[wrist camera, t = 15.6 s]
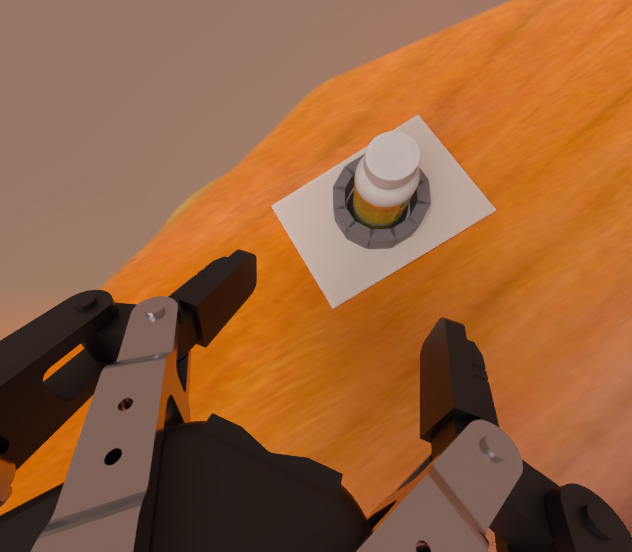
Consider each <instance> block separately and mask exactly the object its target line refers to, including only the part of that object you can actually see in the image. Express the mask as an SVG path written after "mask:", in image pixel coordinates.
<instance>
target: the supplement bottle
mask: <svg viewBox="0 0 632 552" xmlns="http://www.w3.org/2000/svg"><path fill="white" fill-rule="evenodd" d="M420 158H421V151H420V147H419V145H418V143H417V142H416V140H415V139H414V138H413V137H411V136H410V135H408V134H406V133H404V132H400V131H389V132H384V133H382V134H380V135H378V136H376V137H375V138H374V139H373V140H372V141H371V142H370V143H369V145H368V147H367V149H366V152H365V155H364V156H363V157H362V159H361V160H360V161H359V163H358V165H357V168H356V171H355V179H354V199H353V211H354V215H355V217H356V219H357V221H358V222H359V223H360V224H362V225H364V226H366V227H368V228H370V229H388V228H390V227H392V226H393V225H395V224H396V223H397V222H398V220H399V219H400V217H401V216H402V214H403V212H404V210H405V208H406V206H407V205H408V203H409V201H410V199H411V198H412V196H413V194H414V192H415V190H416V188H417V186H418V183H419V178H420V171H419V166H418V165H419V163H420Z"/></svg>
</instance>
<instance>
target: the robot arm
mask: <svg viewBox="0 0 632 552" xmlns="http://www.w3.org/2000/svg"><path fill="white" fill-rule="evenodd" d="M256 281H257V272H256V256H255V255H254V254H252V253H249V252H246V251H243V250H236V251H235V252H234V253H233V254H232V255H230V256H229V257H222V258H220V259H217V260H214V261H213V262H211V263H210V264H209V265H207V266H206V267H205V268H204V269H202V270H201V271H200V272H199V273H197V275H195V276H194V277H192V278H191V279H190V280H189V281H187V282H186V283H185V284H184V285H182V286H181V287H180V288H179V289H177V290H176V291H175V292H174V293H172V294H171V295H170V296H168V297H163V296H161V297H153V298H149V299H147V300H144V301H142V302H141V303H139V304H138V305H136V304H124V303H115V302H114V300H113V298H112V296H111V295H110V293H108V292H106V291H103V290H90V291H85V292H81V293H79V294H76V295H74V296H72V297H70V298H68V299H67V300H65V301H63V302H62V303H60V304H59V305H57V306H55V307H54V308H52V309H51V310H49V311H48V312H46V313H44V314H43V315H41V316H40V317H38V318H36V319H34V320H33V321H31V322H30V323H28V324H26V325H25V326H23V327H22V328H20V329H18V330H17V331H15V332H14V333H12V334H10V335H9V336H7V337H6V338H4V339H3V340H1V341H0V507H1V506H2V505H3V504H4V503H5V502H6V501H7V500H8V499H9V497H10V495H11V493H12V487H11V486H10V485H11V483H12V481H13V479H14V476H15V472H16V470H17V469H18V468H19V467H20V466H21V465H22V464H23V463H24V462H25V461H26V460H27V459H28V458H29V457H30V456H31V455H32V454H33V453H34V452H35V451H36V450H37V449H38V448H39V447H40V446H42V445H43V444H44V443H45V442H46V441H47V440H48V439H49V438H50V437H51V436H52V435H53V434H54V433H55V432H56V431H57V430H58V429H59V428H60V427H61V426H62V425H63V424H64V423H65V422H66V421H67V420H68V419H69V418H70V417H71V416H72V415H73V414H74V413H75V412H76V411H77V410H78V409H79V408H80V407H81V406H82V405H83V404H84V403H85V402H86V401H87V400H88V399H89V398H90V397H91V396H92V395H93V394H94V395H93V398H92V401H91V404H90V407H89V410H88V413H87V416H86V419H85V422H84V425H83V428H82V431H81V434H80V437H79V440H78V443H77V446H76V449H75V452H74V455H73V458H72V461H71V464H70V467H69V470H68V473H67V476H66V479H65V482H64V483H62V484H60V485H58V486H56V487H54V488H52V489H50V490H49V491H47V492H45V493H43V494H41V495H39V496H37V497H35V498H33V499H31V500H29V501H27V502H26V503H24V504H22V505H20V506H18V507H16V508H14V509H12V510H10V511H8V512H6V513H4V514H3V515H1V516H0V552H488V548H489V541H488V540H487V538H486V537H485V534H486V531H487V529H488V528H490V529H491V530H492V531H493V532H494V533H495V540H496V549H497V552H632V537H631V535H630V533H629V531H628V530H627V528H626V526H625V525H624V523H623V522H622V521H621V519H620V518H619V516H618V515H617V514H616V513H615V512H614V510H613V509H612V508H611V507H610V506H609V505H608V504H607V503H606V502H605V501H604V500H603V499H601V498H600V497H599V496H598V495H596V494H595V493H594V492H592V491H591V490H589V489H587V488H585V487H583V486H581V485H578V484H567V485H564V486H558V485H557V484H555V483H554V482H553V481H551V480H550V479H548V478H547V477H546V476H544V475H543V474H541V473H540V472H539V471H537V470H536V469H534V468H533V467H531V466H530V465H529V464H527V463H526V462H525V461H524V460H522V458H521V455H520V453H519V451H518V449H517V447H516V445H515V444H514V442H513V441H512V440H511V439H510V437H509V436H508V435H507V434H506V433H505V432H504V431H503V430H501V429H500V428H499V424H498V420H497V416H496V411H495V407H494V403H493V399H492V394H491V390H490V386H489V382H487V381H488V377H487V373H486V371H485V369H486V368H485V364H484V360H483V356H482V354H481V352H480V351H479V349H478V348H477V346H476V345H475V343H474V342H472V341H469V340H467V337H466V332H465V327H464V325H463V324H461V323H458V322H455V321H452V320H449V319H446V318H440V319H439V321H438V322H437V323H436V325H435V326H434V328H433V329H432V331H431V332H430V334H429V335H428V337H427V338H426V340H425V341H424V343H423V346H422V349H421V354H420V439H423V440H425V441H427V442H430V443H431V447H432V453H431V454H430V455H428V456H427V458H426V459H425V460H424V461H423V462H422V463H421V464H420V465H419V466H418V467H417V468H416V469H415V470H414V471H413V472H412V473H411V474H410V475H409V476H408V477H407V478H406V479H405V480H404V481H403V482H402V483H401V484H400V486H399V487H398V488H397V489H396V490H395V491H394V492H393V493H392V494H391V495H389V496H388V497H387V498H386V499H385V500H384V501H383V502H382V503H381V504H380V505H378V506H377V507H376V508H375V509H374V510H373V511H372V512H371V514H370V515H369V516H368V517H367V518H366V517H365V515H364V513H363V511H362V509H361V508H360V506H359V505H358V503H357V502H356V500H355V499H354V497H353V496H352V495H351V494H350V493H349V492H348V491H347V489H346V488H344V487H343V486H342V485H341V480H342V475H343V474H341V473H339V472H337V471H335V470H333V469H331V468H329V467H326V466H324V465H322V464H320V463H318V462H316V461H314V460H311V459H309V458H305V457H297V456H290V455H282V454H275V453H271V452H269V451H267V450H266V449H265V448H264V447H263V446H262V445H261V444H260V443H259V442H257V441H256V440H255V439H254V438H253V437H252V436H251V435H250V434H249V433H248V432H247V431H246V430H245V429H244V428H242V427H241V426H239V425H237V424H234V423H232V422H230V421H228V420H226V419H224V418H222V417H219V416H217V415H215V414H213V413H212V414H211V416H210V417H209V419H208V420H207V422H206V421H194V422H190V406H189V382H190V364H191V349H192V348H193V347H194V345H195V344H198V345H201V346H203V347H205V348H206V347H207V346H208V345H209V343H210V342H211V341H212V340H213V339H214V338H215V336H216V335H217V334H218V333H219V332H220V331H221V329H222V328H223V327H224V326H225V325H226V323H227V322H228V321H229V320H230V319H231V318H232V316H233V315H234V314H235V313H236V312H237V311H238V309H239V308H240V307H241V306H242V305H243V304H244V302H245V301H246V300H247V299H248V298H249V297H250V295H251V294H252V293H253V291H254V289H255V286H256ZM80 343H81V344H82V346H83V347H84V349H83V350H82V351H81V352H80V353H78V354H77V355H76V356H75V357H73V358H72V359H71V360H70V361H68V362H67V363H66V364H65V365H63V366H62V367H61V368H60V369H59V370H57V371H56V372H55V373H54V374H52V375H51V376H50V377H49V378H47V379H46V380H45V381H44V382H43V377H44V374H45V373H46V371H47V370H48V369H49V368H50V367H51V366H52V365H54V364H55V363H56V362H58V361H59V360H60V359H61V358H63V357H64V356H65V355H66V354H68V353H69V352H70V351H72V350H73V349H74V348H75V347H77V346H78V345H79V344H80Z"/></svg>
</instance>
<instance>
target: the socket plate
mask: <svg viewBox="0 0 632 552" xmlns="http://www.w3.org/2000/svg"><path fill="white" fill-rule="evenodd" d="M392 131H400V132H404V133H406V134H408V135H410V136H411V137H413V138H414V139H415V140H416V142H417V143H418V145H419V147H420V151H421V158H420V163H419V165H418V166H419V171H420V178H419V183H418V186H417V188H416V190H415V192H414V194H413V196H412V198H411V199H410V201H409V203H408V205H407V206H406V208H405V210H404V212H403V214H402V216H401V217H400V219H399V220H398V222H397V223H396V224H395V225H393V226H392V227H390V228H388V229H370V228H368V227H366V226H364V225H362V224H360V223H359V222H358V221H357V219H356V217H355V215H354V211H353V199H354V179H355V171H356V168H357V165H358V163H359V161H360V160H361V159H362V157H363V156H364V155H365V152H366V149H367V147H368V146H366V147H365V148H363V149H362V150H360V151H358V152H357V153H355V154H354V155H352V156H350V157H349V158H347V159H346V160H344V161H342V162H341V163H339V164H338V165H336V166H334V167H333V168H331V169H330V170H328V171H326V172H325V173H323V174H321V175H320V176H318V177H317V178H315V179H313V180H312V181H310V182H309V183H307V184H305V185H304V186H302V187H301V188H299V189H297V190H296V191H294V192H293V193H291V194H289V195H288V196H286V197H285V198H283V199H281V200H280V201H278V202H277V203H275V204H273V205H272V206H271V207H272V208H273V210H274V212H275V213H276V215H277V217H278V218H279V220H280V222H281V223H282V225H283V227H284V228H285V230H286V232H287V233H288V235H289V237H290V238H291V240H292V242H293V243H294V245H295V247H296V249H297V250H298V252H299V254H300V255H301V257H302V259H303V260H304V262H305V264H306V265H307V267H308V269H309V270H310V272H311V274H312V275H313V277H314V279H315V280H316V282H317V284H318V285H319V287H320V289H321V290H322V292H323V294H324V295H325V297H326V299H327V300H328V302H329V304H330V305H331V307H332V309H334V308H336V307H337V306H339V305H341V304H342V303H344V302H346V301H347V300H349V299H351V298H352V297H354V296H356V295H357V294H359V293H361V292H362V291H364V290H366V289H367V288H369V287H371V286H372V285H374V284H376V283H377V282H379V281H381V280H382V279H384V278H386V277H387V276H389V275H391V274H392V273H394V272H396V271H397V270H399V269H400V268H402V267H404V266H405V265H407V264H409V263H410V262H412V261H414V260H415V259H417V258H419V257H420V256H422V255H424V254H425V253H427V252H429V251H430V250H432V249H434V248H435V247H437V246H439V245H440V244H442V243H444V242H445V241H447V240H449V239H450V238H452V237H454V236H455V235H457V234H459V233H460V232H462V231H464V230H465V229H467V228H469V227H470V226H472V225H473V224H475V223H477V222H478V221H480V220H482V219H483V218H485V217H487V216H488V215H490V214H492V213H493V212H494V211H496V209H495V208H494V206H493V205H492V204H491V203H490V201H489V200H488V199H487V198H486V197H485V195H484V194H483V193H482V192H481V190H480V189H479V188H478V187H477V186H476V184H475V183H474V182H473V181H472V180H471V178H470V177H469V176H468V175H467V173H466V172H465V171H464V170H463V169H462V167H461V166H460V165H459V164H458V162H457V161H456V160H455V159H454V158H453V156H452V155H451V154H450V153H449V151H448V150H447V149H446V148H445V147H444V145H443V144H442V143H441V142H440V141H439V139H438V138H437V137H436V136H435V134H434V133H433V132H432V131H431V130H430V128H429V127H428V126H427V125H426V123H425V122H424V121H423V120H422V119H421V117H420V116H419V115H416V116H415V117H413V118H411V119H410V120H408V121H407V122H405V123H403V124H402V125H400V126H399V127H397V128H395V129H394V130H392Z"/></svg>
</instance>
